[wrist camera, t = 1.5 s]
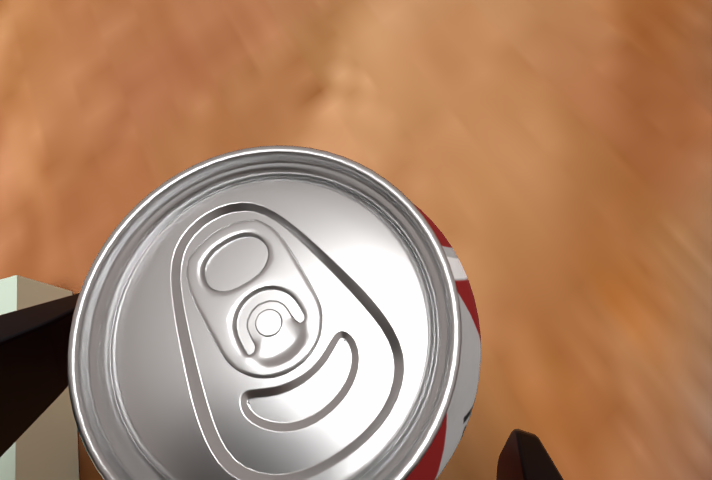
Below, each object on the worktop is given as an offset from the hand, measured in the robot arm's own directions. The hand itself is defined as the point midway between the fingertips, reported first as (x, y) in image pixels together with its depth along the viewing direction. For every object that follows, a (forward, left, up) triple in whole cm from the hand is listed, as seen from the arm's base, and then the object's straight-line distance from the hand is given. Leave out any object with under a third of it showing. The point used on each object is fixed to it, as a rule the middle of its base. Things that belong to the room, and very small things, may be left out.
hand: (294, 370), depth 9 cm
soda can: (+1, 0, -9) cm, 9 cm away
